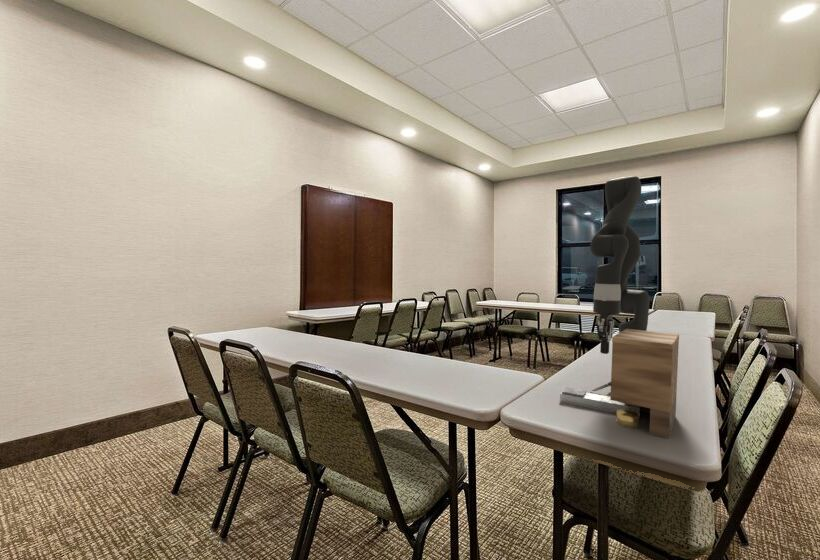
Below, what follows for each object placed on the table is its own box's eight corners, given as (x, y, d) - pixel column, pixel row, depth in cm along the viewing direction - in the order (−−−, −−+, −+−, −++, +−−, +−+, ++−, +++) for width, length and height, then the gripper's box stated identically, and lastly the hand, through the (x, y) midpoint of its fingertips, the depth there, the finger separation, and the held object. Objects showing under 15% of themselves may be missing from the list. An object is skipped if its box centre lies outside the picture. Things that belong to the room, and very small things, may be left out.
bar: (564, 397, 123) (564, 386, 123) (640, 412, 111) (640, 400, 111) (559, 403, 118) (560, 391, 118) (639, 419, 106) (639, 406, 106)
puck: (618, 419, 105) (618, 408, 105) (639, 424, 102) (639, 412, 102) (614, 424, 101) (614, 413, 101) (636, 430, 98) (636, 418, 98)
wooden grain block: (623, 405, 116) (626, 328, 115) (675, 416, 108) (679, 334, 107) (609, 424, 101) (612, 337, 100) (668, 439, 93) (672, 344, 92)
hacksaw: (615, 382, 141) (615, 378, 141) (646, 389, 133) (646, 385, 133) (581, 394, 126) (581, 390, 126) (614, 403, 118) (614, 399, 118)
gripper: (599, 296, 128) (597, 348, 128) (588, 298, 118) (586, 354, 118) (624, 298, 123) (622, 352, 124) (615, 300, 113) (613, 358, 113)
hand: (604, 353), depth 121 cm, fingers closed
